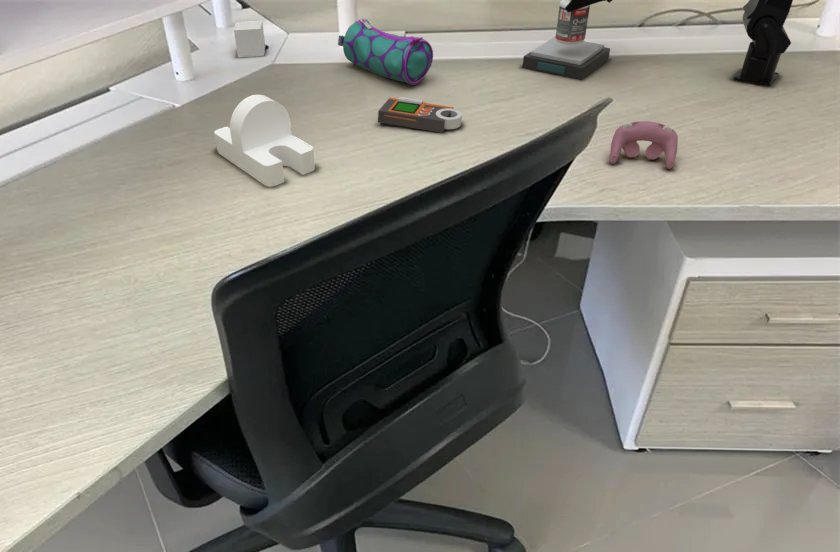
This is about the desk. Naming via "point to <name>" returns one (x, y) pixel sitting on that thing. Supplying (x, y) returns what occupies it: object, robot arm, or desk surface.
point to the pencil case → (387, 52)
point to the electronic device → (419, 115)
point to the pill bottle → (571, 24)
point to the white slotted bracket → (263, 141)
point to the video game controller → (645, 131)
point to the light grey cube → (249, 38)
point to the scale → (566, 58)
